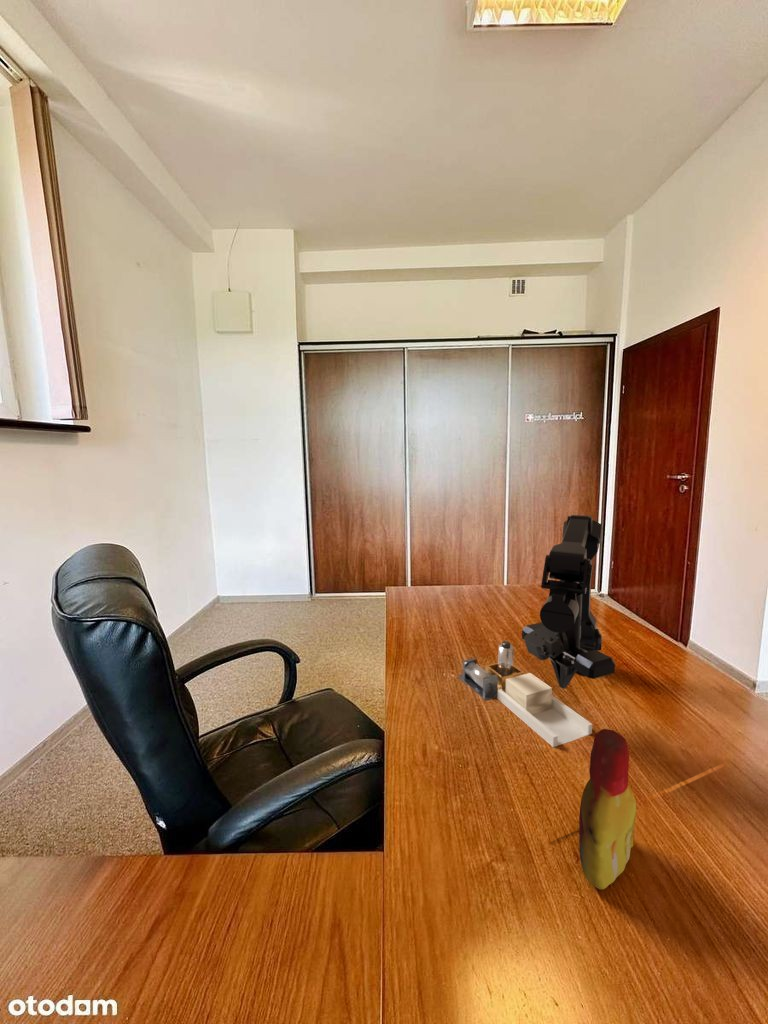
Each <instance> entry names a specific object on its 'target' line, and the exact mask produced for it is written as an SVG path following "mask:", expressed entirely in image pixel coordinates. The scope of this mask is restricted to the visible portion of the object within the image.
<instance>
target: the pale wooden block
mask: <svg viewBox="0 0 768 1024" xmlns="http://www.w3.org/2000/svg"><path fill="white" fill-rule="evenodd" d="M506 694H507V695H508V696H510V697H511V698H512V699H513V700H515V701H516V702H517V703H518V704H519V705H521V706H522V707H523V708H524V709H525V710H527V711H528V712H529V713H530V714H531V715H533V714H534V715H535V714H536V713H540V712H543V711H546V710H549V709H550V710H551V705H552V696H553V687H551V686H550V685H548V684H547V683H545V682H544V681H542V679H540V678H538V677H537V676H535V675H534V674H533V673H531V672H528V673H525V674H524V675H520V676H516V677H512V678H509V679H506Z"/></svg>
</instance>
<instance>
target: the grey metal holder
mask: <svg viewBox="0 0 768 1024" xmlns="http://www.w3.org/2000/svg"><path fill="white" fill-rule="evenodd" d="M477 663H478V661H477V658H476V657H473V658H469V659H464V660H462V673H461V674H458V675H457V678H458V679H460V681H462V682H463V683H464V684H465V685H466V686H468V687H470V688H471V689H472V690H473V691H474V692H476V694H477V695H479V696H480V697H481V698H482V699H483V700H484V701H488V700H492V699H496V698H497V697H498V690H502V691H504V692H505V693H506V679H509V678H512V677H516V676H520V675H524V674H526V673H525V671H523V670H522V669H521V668H519V667H518V666H517V665H515V664H513V670H512V674H511V675H507V676H503V677H502V676H501V675H500V674H498V673H497V672H498V662H495V663H494V662H493V663H490V664H486V665H485V668H482V667H481V666H479V665H478V664H477Z"/></svg>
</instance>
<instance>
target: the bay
mask: <svg viewBox="0 0 768 1024" xmlns="http://www.w3.org/2000/svg"><path fill="white" fill-rule="evenodd" d="M497 700H498V701H499V702H500V703H502V704H503V705H504V706H505V707H506V708H507V709H509V710H510V712H512V713H513V714H515V715H516V716H517V718H519V719H520V720H521V721H523V722H524V724H526V725H527V726H528V727H529V728H530V729H532V730H533V731H534V732H535V734H537V735H538V736H540V738H542V739H543V740H544V741H545V742H547V743H548V744H549V745H550V746H551V747H552V748H556V747H558V746H561V745H563V744H567V743H569V742H572V741H575V740H578V739H580V738H584V737H585V736H590V735H592V734H593V723H591V722H590V721H589V720H587V718H584V717H583V716H581V715H580V714H579V713H577V712H576V711H575V710H573V709H572V708H571V707H570V706H568V705H566V704H565V703H563V702H562V701H561V700H559V699H558V698H557V697H555V696H554V695H552V705H551V709H549V710H546V711H543V712H540V713H536V714H533V715H531V714H530V713H529V712H528V711H527V710H525V709H524V708H523V707H522V706H521V705H519V704H518V703H517V702H516V701H515V700H513V699H512V698H511V697H510V696H508V695H507V694H506V693H505V692H504V691H502V690H498V697H497Z"/></svg>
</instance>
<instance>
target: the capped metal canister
mask: <svg viewBox="0 0 768 1024" xmlns="http://www.w3.org/2000/svg"><path fill="white" fill-rule="evenodd" d="M514 649H515V648H514V646H513V645H512V644H511V642H510V641H507V640H504V641H502V642H501V643H500V644H498V650H497V651H498V653H497V654H498V655H497V663H498V672H497V673H498V674H500V675H501V676H502V677H503V676H507V675H511V674H512V670H513V665H514Z"/></svg>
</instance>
